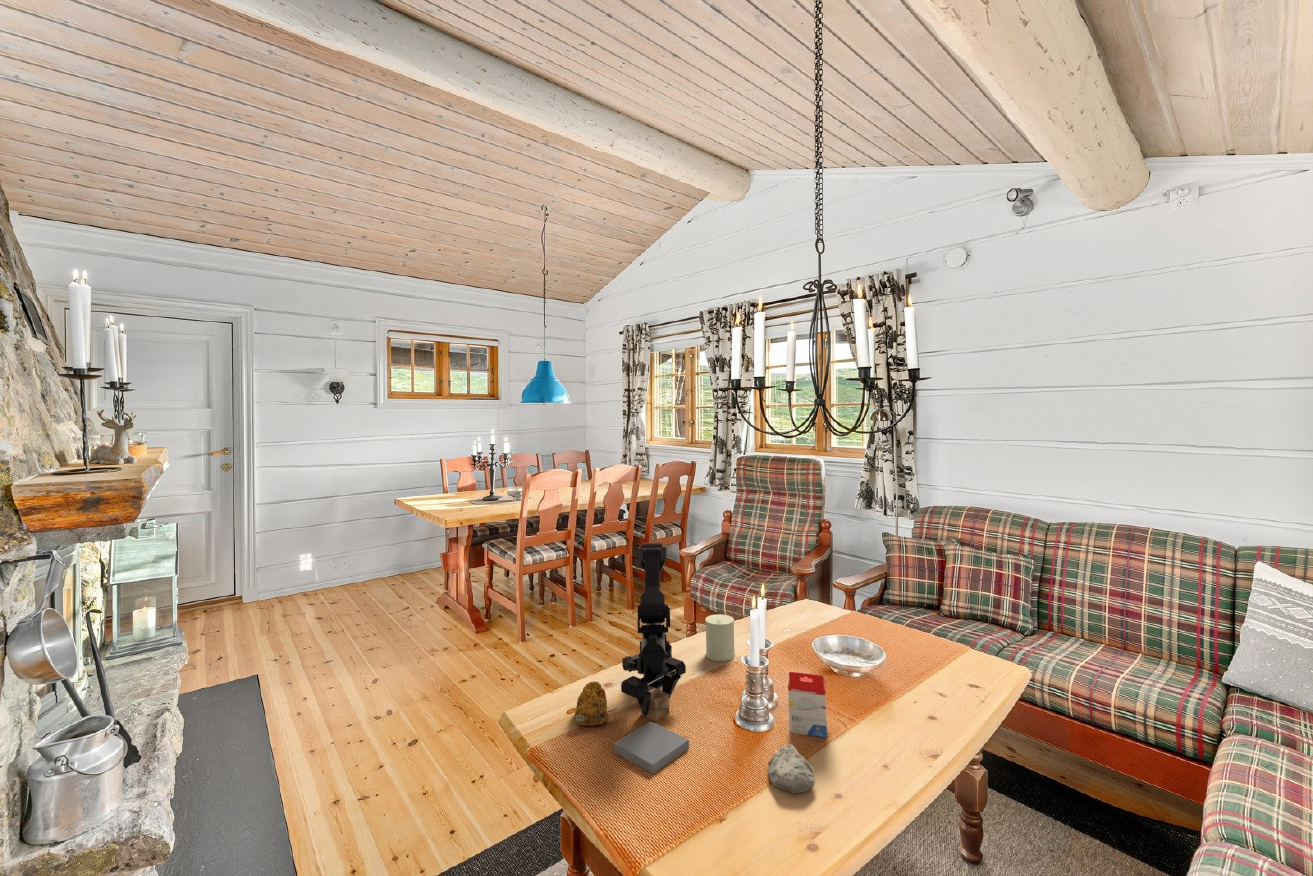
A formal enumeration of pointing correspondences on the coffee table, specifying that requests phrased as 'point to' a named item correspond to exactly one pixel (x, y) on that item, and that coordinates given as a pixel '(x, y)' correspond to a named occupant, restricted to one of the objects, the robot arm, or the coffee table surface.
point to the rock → (591, 705)
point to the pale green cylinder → (720, 637)
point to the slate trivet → (651, 746)
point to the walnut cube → (658, 704)
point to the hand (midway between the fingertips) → (655, 709)
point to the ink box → (807, 704)
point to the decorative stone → (790, 770)
